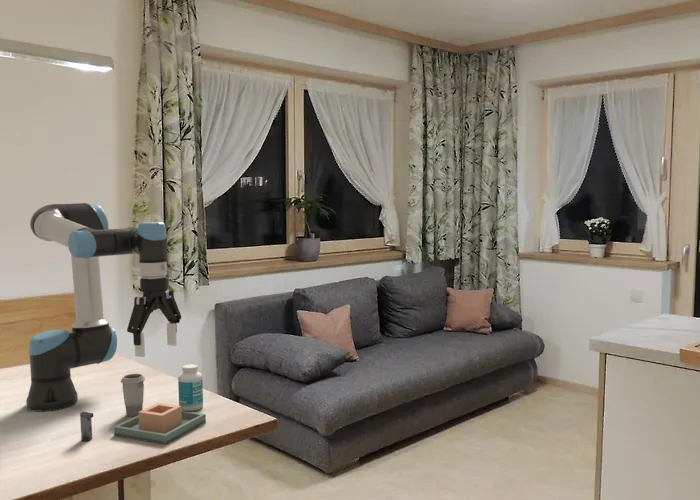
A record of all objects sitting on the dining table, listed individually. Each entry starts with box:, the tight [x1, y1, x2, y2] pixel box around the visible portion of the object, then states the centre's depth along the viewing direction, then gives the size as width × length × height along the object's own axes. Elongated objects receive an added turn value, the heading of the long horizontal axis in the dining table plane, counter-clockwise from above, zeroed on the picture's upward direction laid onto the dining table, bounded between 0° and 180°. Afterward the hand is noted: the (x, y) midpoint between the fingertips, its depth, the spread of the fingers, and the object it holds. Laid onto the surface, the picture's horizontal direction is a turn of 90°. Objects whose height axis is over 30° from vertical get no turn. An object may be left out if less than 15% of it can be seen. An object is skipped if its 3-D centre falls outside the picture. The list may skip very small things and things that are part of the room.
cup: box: [120, 372, 146, 418], centre depth 196 cm, size 7×7×12 cm
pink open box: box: [138, 402, 182, 433], centre depth 184 cm, size 8×10×5 cm
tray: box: [113, 410, 207, 445], centre depth 184 cm, size 18×18×2 cm
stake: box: [79, 411, 94, 442], centre depth 176 cm, size 4×3×8 cm
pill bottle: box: [177, 363, 204, 412], centre depth 201 cm, size 8×7×14 cm
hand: (156, 350), depth 182 cm, fingers open, 13 cm apart
